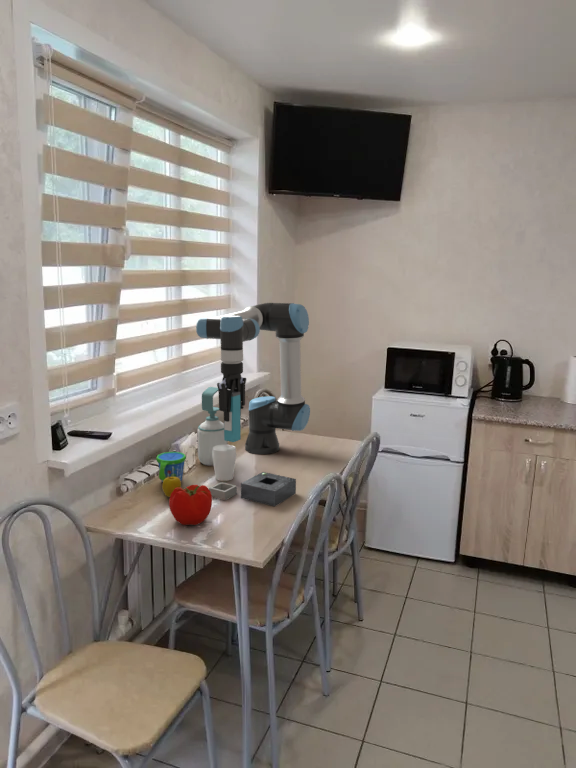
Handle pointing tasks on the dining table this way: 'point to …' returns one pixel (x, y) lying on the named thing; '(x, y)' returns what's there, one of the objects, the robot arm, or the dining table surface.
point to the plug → (234, 419)
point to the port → (268, 488)
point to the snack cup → (171, 465)
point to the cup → (224, 461)
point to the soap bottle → (209, 429)
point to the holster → (223, 490)
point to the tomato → (190, 504)
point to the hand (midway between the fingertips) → (232, 428)
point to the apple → (170, 485)
